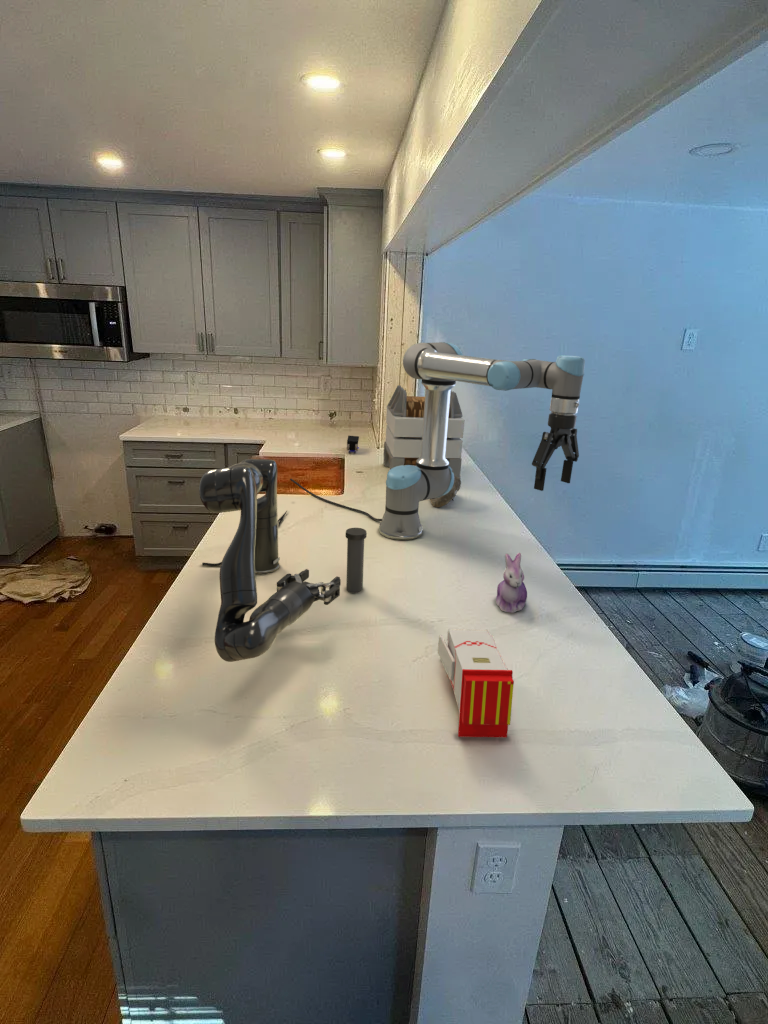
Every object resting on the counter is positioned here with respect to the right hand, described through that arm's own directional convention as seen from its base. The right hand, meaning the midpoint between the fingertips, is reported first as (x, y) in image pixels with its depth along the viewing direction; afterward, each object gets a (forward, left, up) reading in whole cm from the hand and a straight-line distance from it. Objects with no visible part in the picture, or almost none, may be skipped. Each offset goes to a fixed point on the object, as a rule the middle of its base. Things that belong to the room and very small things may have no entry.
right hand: (552, 485), depth 166 cm
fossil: (-65, +26, -28) cm, 75 cm away
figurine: (+8, -24, -28) cm, 38 cm away
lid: (-25, -53, -11) cm, 59 cm away
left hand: (-16, -70, -16) cm, 73 cm away
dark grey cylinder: (-25, -53, -28) cm, 65 cm away
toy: (+26, -62, -28) cm, 72 cm away
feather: (-87, -37, -28) cm, 99 cm away
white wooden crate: (-101, +46, -28) cm, 115 cm away
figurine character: (-152, +45, -28) cm, 161 cm away
